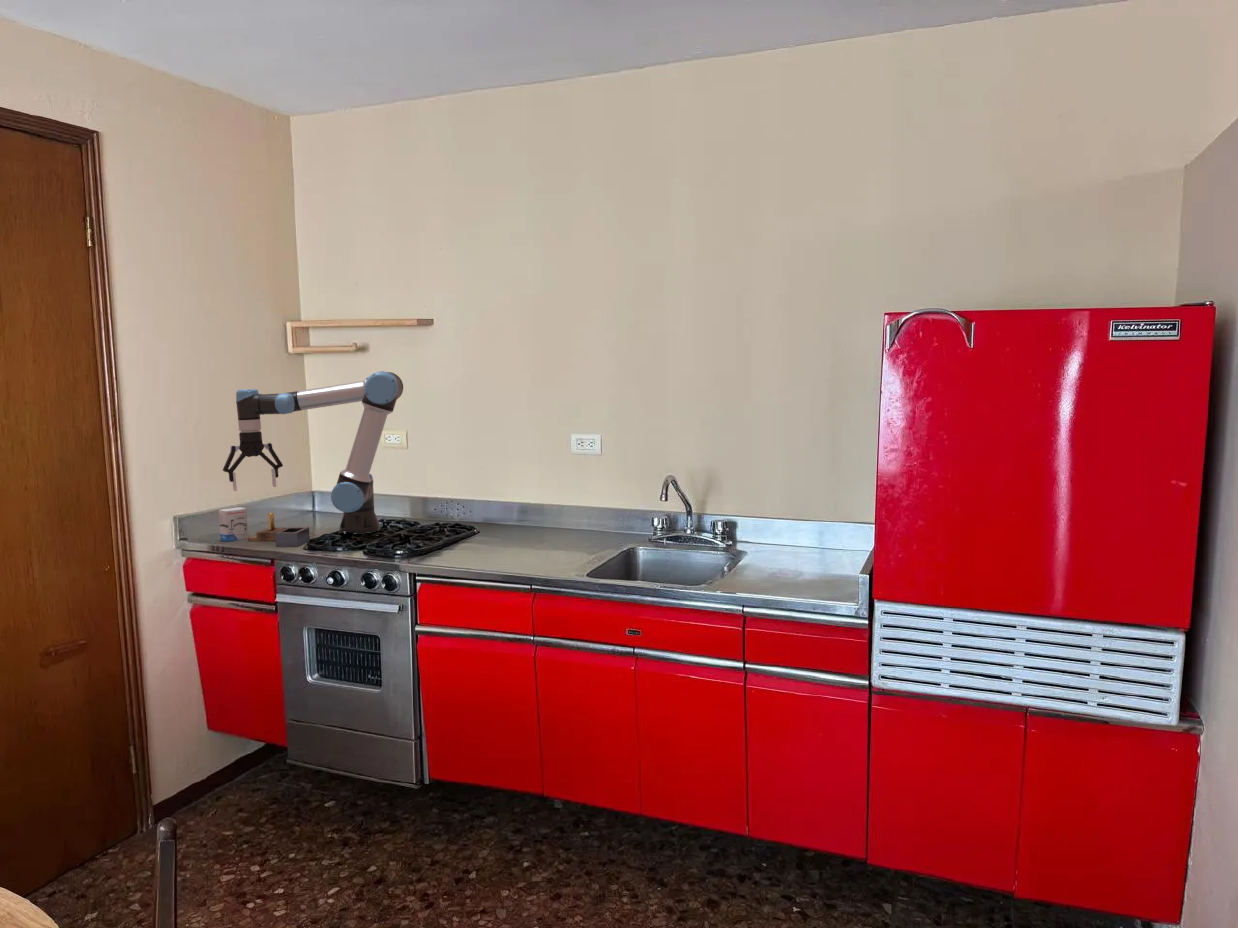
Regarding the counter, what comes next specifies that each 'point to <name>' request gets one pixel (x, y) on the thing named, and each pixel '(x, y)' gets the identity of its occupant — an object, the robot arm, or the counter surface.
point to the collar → (292, 537)
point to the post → (271, 521)
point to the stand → (265, 535)
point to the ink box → (233, 524)
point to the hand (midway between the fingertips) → (255, 488)
